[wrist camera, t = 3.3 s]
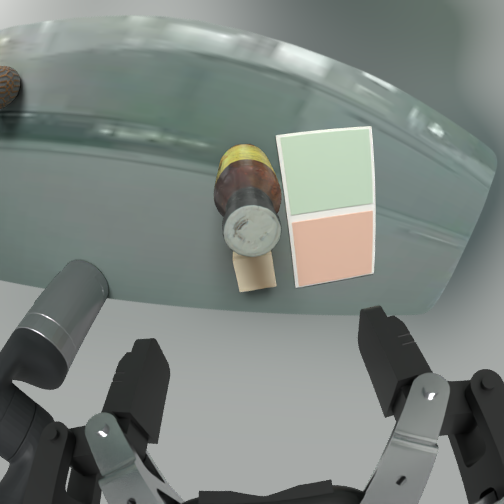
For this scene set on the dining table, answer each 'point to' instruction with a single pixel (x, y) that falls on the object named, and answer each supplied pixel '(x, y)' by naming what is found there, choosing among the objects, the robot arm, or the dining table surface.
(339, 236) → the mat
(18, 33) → the dining table surface
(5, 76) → the brown rounded lump
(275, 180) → the sauce bottle
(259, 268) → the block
